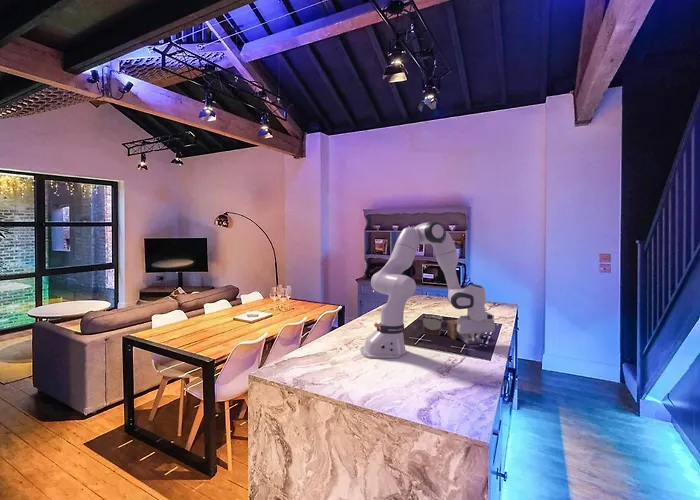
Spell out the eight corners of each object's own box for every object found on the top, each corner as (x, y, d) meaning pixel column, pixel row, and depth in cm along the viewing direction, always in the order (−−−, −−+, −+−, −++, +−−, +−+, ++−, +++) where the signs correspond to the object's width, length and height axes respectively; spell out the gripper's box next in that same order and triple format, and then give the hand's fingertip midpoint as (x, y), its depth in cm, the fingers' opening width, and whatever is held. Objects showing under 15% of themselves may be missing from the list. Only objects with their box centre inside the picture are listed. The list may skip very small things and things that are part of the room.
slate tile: (467, 344, 192) (467, 340, 192) (456, 337, 204) (456, 333, 204) (481, 343, 194) (481, 339, 193) (469, 336, 205) (469, 332, 205)
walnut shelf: (453, 339, 199) (454, 324, 198) (446, 335, 207) (447, 320, 206) (478, 337, 202) (479, 322, 201) (470, 333, 210) (471, 319, 209)
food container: (445, 332, 211) (445, 316, 210) (442, 335, 206) (442, 318, 205) (425, 329, 217) (425, 313, 217) (421, 332, 212) (421, 315, 211)
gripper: (460, 317, 186) (460, 344, 187) (496, 315, 190) (496, 341, 191) (454, 314, 192) (454, 340, 193) (489, 312, 196) (489, 337, 197)
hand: (475, 340), depth 192 cm, fingers closed
